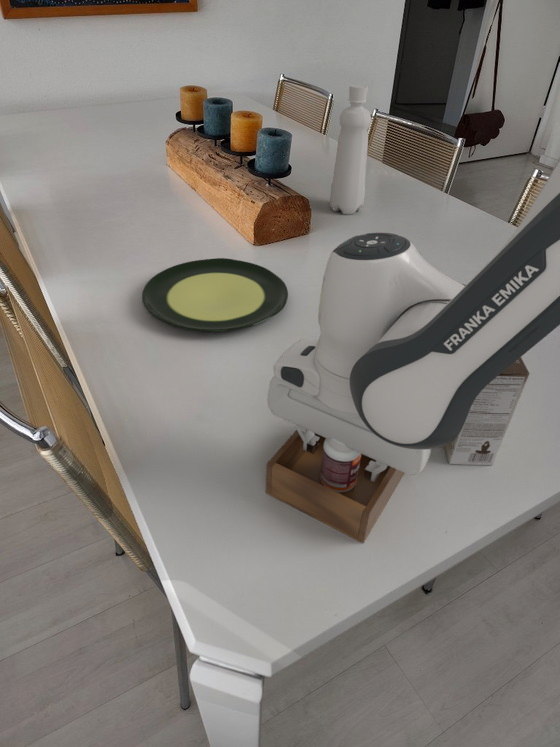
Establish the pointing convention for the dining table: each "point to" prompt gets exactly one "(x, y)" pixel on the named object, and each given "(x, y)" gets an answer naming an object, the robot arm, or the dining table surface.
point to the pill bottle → (339, 466)
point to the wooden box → (307, 493)
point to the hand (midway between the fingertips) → (340, 462)
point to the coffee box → (489, 418)
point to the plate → (215, 295)
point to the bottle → (351, 154)
